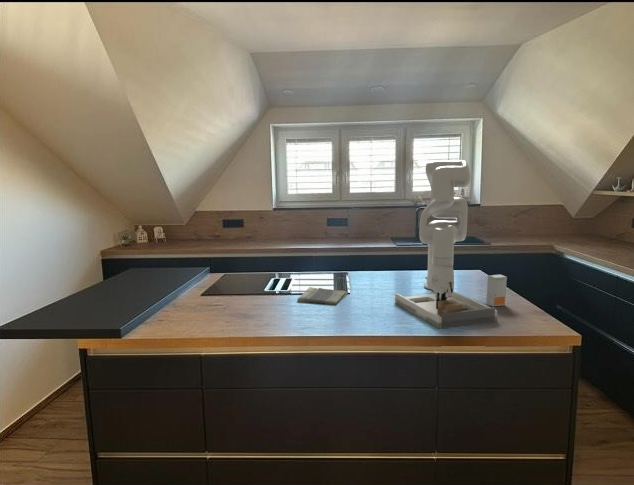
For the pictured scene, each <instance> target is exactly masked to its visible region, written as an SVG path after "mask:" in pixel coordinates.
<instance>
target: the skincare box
mask: <svg viewBox="0 0 634 485" xmlns="http://www.w3.org/2000/svg"><path fill="white" fill-rule="evenodd" d="M507 281H508V277H507V276H505V275H503V274H493V275H487V285H486V286H487V287H486V301H485V303H486V305H487V306H489V307H490V306H491V307H499V306H501V307H502V306H505V305H506V295H507Z"/></svg>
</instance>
